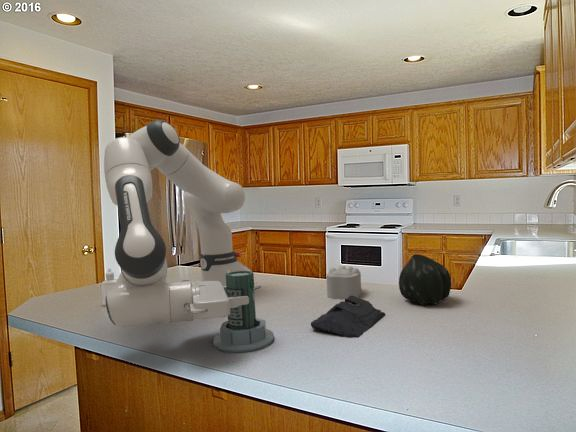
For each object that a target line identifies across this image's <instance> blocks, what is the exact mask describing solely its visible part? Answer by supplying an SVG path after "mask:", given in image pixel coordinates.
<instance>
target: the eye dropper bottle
mask: <svg viewBox="0 0 576 432" xmlns="http://www.w3.org/2000/svg"><path fill="white" fill-rule="evenodd" d="M117 280H118V279H116V278H115V275H114V272H113V271H112V269H111V268H108V269H107V272H106V273H105V279H104V281H102V282H101V284H100V286H101V287H100V288H101V291H100V292H101V300H102V301H101V302H102V306H104V307H106V294H107V293H108V292H109V291H110V290H111V289H112V288H113V286H114V285H115V283H116V282H117Z"/></svg>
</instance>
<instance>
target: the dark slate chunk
mask: <svg viewBox="0 0 576 432" xmlns="http://www.w3.org/2000/svg"><path fill="white" fill-rule="evenodd" d="M384 317H386V313H385V312H383V311H382V310H380V309H378V308H376V307H374V305H373V304H372V303H371V302H370V301H369V300H365V299H362V298H359V297H358V298H357V297H355V296H349V297H348V298H347V299H344V300H343V301H339V302H338V303H336V304H335V305H333V306H332V307H331V308H329V310H327V312H326V313H324V314H321V315H320V316H319V317H317V318H316V319H314V320H312V321H311V322H310V327H312V329H314V330H316V331H317V330H318V331H324V332H329V333H333V335H338V336H342V337H346V338H359V337H362V336H363V335H364V333H366V332H368V331H369V330H370V329H372V328H373V327H374V326H375V325H377V323H379V321H381V320H382V319H383V318H384Z"/></svg>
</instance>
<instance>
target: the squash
mask: <svg viewBox="0 0 576 432" xmlns="http://www.w3.org/2000/svg"><path fill="white" fill-rule="evenodd" d="M412 254H413V253H412ZM398 278H399V279H398V288H399V291H400V294H401V297H403V298H404V299H406V300H407V301H409V302H410V303H413V304H421V305H424V306H425V305H428V304H430V305H437V304H439V303H440V302H441V301H443V300H446V299H447V298H448V297H449V296H450V293H451V287H452V278H451V274H450V272H449V270H448V269H447V268H446V267H445V265H443V264H441V263H439V262H438V261H436V260H435V259H432V258H430V257H428V256H426V255H422V254H418V253H414V254H413V255H411V257H410V258H409V260H408V261H407V263H406V264H405V265H404V266H403V268H402V270H401V272H400V275H399V277H398Z"/></svg>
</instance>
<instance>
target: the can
mask: <svg viewBox="0 0 576 432" xmlns="http://www.w3.org/2000/svg"><path fill="white" fill-rule="evenodd" d="M251 271H252V270H251ZM251 271H235V272H230V273H227V274H226V289H227V296H228V297H233V298H234V297H240V296H241V295H247V296H248V297H249V304H246V305H241V306H238V307H235V308H230V315H228V316H227V321H228V325H229V329H232V330H248V329H251V328H254V327H256V318H257V317H256V315H257V313H256V297H255V289H254V282H255V278H254V272H253V271H252V272H251Z"/></svg>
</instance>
